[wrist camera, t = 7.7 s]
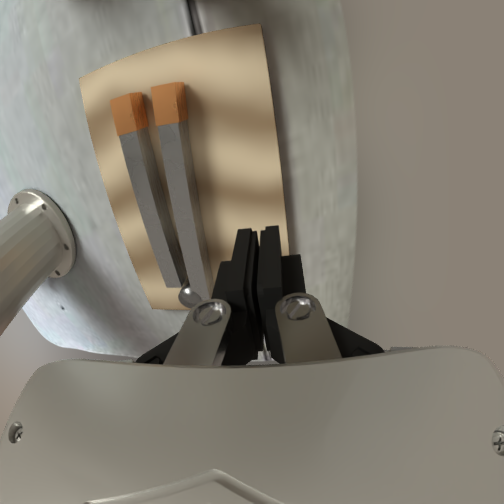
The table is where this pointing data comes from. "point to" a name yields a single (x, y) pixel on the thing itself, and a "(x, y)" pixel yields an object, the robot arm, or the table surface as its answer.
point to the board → (196, 143)
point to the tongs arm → (183, 190)
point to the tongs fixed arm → (148, 185)
